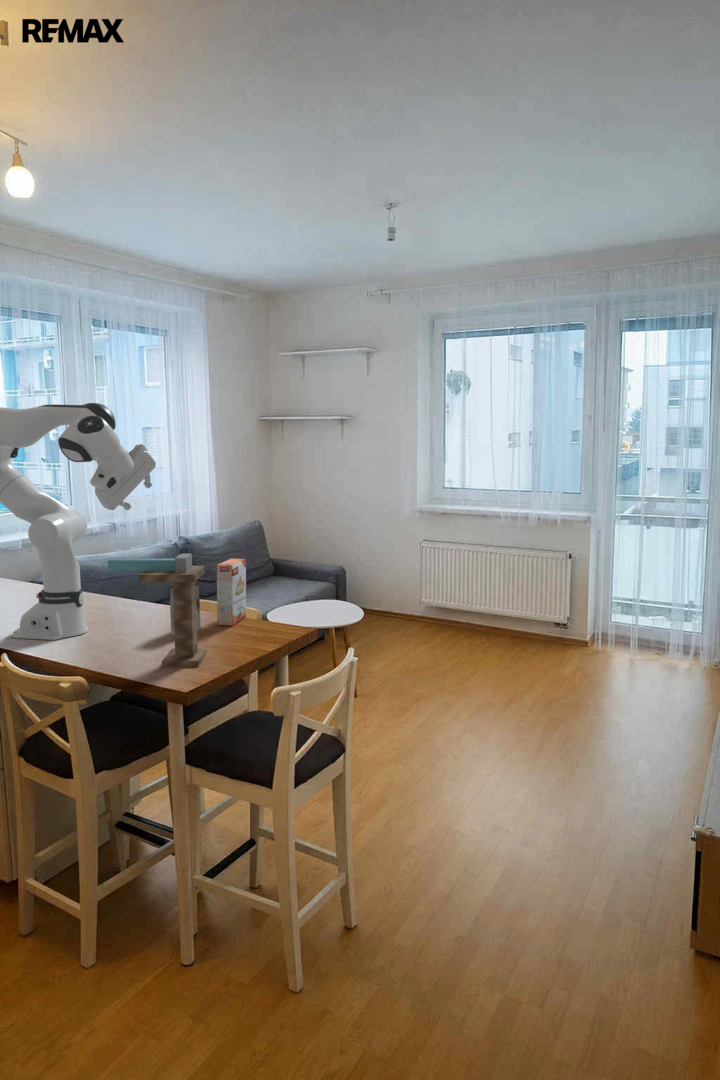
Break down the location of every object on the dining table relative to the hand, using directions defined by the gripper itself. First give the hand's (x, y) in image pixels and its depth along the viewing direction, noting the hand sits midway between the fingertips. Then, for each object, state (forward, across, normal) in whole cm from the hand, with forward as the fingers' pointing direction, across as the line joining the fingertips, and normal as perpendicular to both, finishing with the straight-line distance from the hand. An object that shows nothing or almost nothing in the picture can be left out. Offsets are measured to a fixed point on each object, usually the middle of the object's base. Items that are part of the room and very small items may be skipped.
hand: (138, 497), depth 218 cm
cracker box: (+55, +3, +14) cm, 57 cm away
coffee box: (+43, +18, +12) cm, 48 cm away
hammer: (+4, +18, +20) cm, 27 cm away
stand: (+24, +32, +30) cm, 50 cm away
